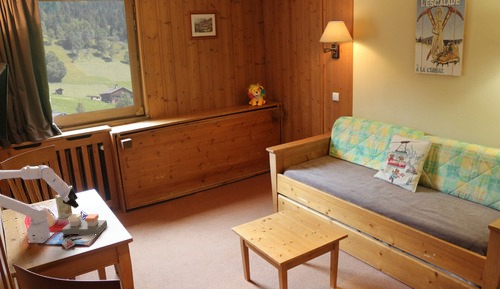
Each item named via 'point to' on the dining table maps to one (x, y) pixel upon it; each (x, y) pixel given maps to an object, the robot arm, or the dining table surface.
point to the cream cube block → (75, 220)
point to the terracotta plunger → (92, 220)
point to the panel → (85, 228)
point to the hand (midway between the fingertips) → (76, 202)
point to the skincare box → (62, 208)
